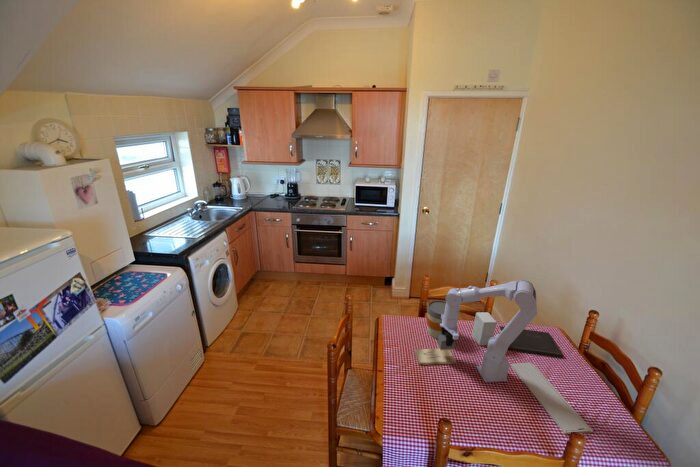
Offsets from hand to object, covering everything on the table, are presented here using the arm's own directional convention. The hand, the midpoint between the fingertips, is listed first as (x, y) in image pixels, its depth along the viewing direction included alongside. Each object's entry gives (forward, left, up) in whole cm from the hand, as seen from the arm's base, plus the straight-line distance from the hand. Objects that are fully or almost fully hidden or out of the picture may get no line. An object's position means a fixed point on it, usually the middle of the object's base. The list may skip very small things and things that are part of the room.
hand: (446, 341), depth 131 cm
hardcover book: (-45, -8, -9) cm, 46 cm away
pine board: (+4, 0, -8) cm, 9 cm away
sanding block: (0, 0, -3) cm, 3 cm away
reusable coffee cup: (-3, -16, -8) cm, 19 cm away
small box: (-23, -10, -9) cm, 26 cm away
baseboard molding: (-34, +21, -9) cm, 41 cm away
